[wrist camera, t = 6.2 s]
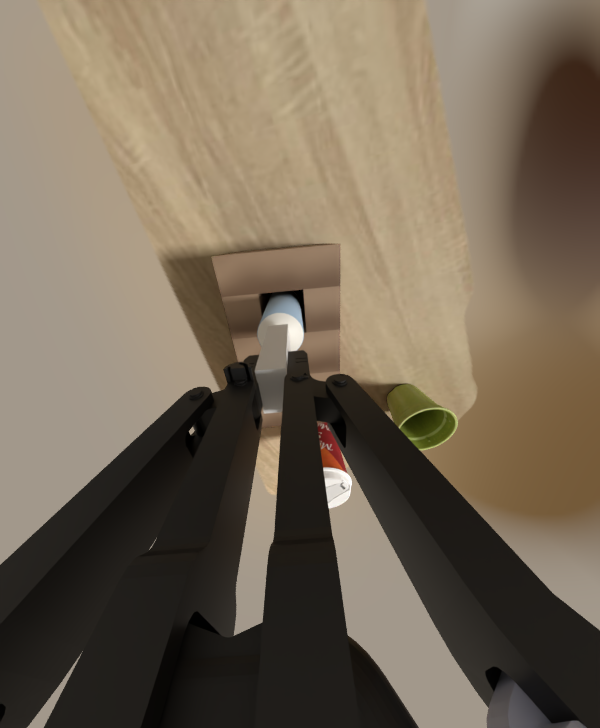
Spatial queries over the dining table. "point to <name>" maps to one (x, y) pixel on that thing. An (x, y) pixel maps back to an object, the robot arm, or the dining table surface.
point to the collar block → (276, 274)
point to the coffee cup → (333, 468)
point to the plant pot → (420, 417)
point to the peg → (283, 317)
